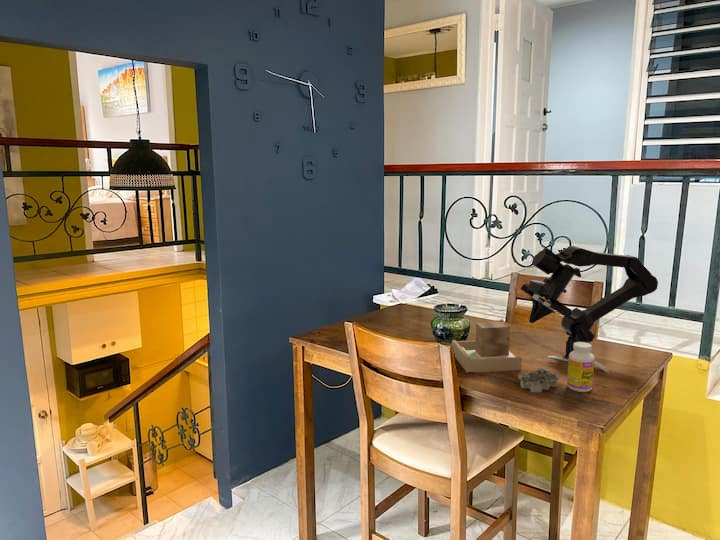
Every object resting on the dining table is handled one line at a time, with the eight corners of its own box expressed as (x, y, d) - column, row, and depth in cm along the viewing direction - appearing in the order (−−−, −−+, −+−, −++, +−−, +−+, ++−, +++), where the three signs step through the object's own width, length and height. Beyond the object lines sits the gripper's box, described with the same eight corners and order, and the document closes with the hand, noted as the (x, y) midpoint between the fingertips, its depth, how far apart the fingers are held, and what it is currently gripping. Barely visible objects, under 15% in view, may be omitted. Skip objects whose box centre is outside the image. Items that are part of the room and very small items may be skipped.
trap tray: (500, 350, 186) (500, 337, 185) (521, 370, 168) (521, 355, 167) (451, 352, 184) (451, 339, 183) (467, 372, 166) (467, 358, 165)
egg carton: (535, 395, 150) (535, 381, 149) (515, 386, 156) (515, 372, 156) (562, 386, 155) (562, 373, 154) (541, 378, 162) (542, 365, 161)
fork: (549, 362, 181) (548, 354, 180) (613, 372, 165) (612, 363, 165) (544, 365, 179) (544, 356, 179) (609, 374, 164) (608, 365, 163)
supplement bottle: (580, 394, 149) (583, 349, 147) (561, 386, 155) (564, 343, 152) (597, 389, 152) (600, 345, 150) (578, 381, 158) (581, 339, 155)
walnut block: (502, 349, 179) (503, 321, 177) (508, 355, 173) (509, 326, 171) (475, 350, 178) (476, 322, 176) (481, 357, 172) (481, 328, 170)
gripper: (524, 261, 177) (497, 301, 179) (564, 282, 161) (534, 325, 163) (544, 275, 183) (518, 313, 184) (585, 296, 167) (555, 339, 168)
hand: (530, 322), depth 175 cm, fingers closed
